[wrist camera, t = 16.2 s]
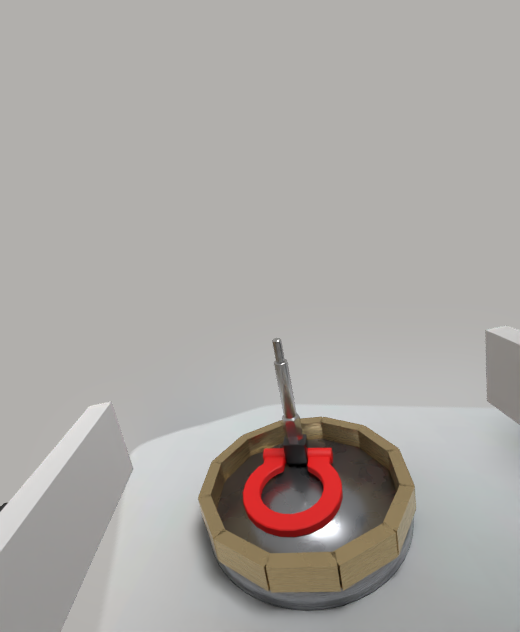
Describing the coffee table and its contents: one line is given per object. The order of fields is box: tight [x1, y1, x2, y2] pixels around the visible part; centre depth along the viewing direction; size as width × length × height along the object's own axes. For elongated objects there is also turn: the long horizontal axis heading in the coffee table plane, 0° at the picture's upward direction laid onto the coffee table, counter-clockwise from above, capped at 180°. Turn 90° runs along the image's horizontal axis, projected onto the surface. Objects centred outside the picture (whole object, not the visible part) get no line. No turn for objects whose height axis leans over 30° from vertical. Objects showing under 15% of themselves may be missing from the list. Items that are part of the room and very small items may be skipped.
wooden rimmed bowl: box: [198, 417, 416, 610], centre depth 30 cm, size 17×17×4 cm
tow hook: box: [243, 338, 343, 537], centre depth 29 cm, size 8×13×9 cm
